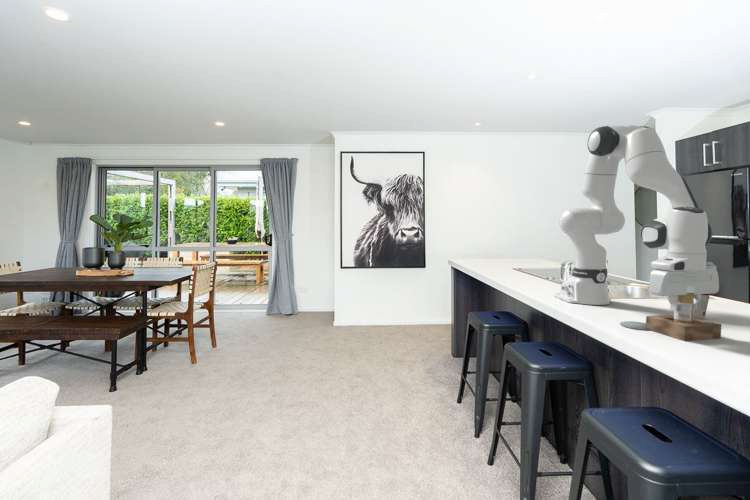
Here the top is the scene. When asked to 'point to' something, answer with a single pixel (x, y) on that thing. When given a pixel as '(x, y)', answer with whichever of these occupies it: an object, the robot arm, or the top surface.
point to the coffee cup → (701, 307)
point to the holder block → (683, 328)
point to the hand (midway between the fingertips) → (683, 309)
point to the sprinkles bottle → (685, 307)
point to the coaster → (634, 325)
